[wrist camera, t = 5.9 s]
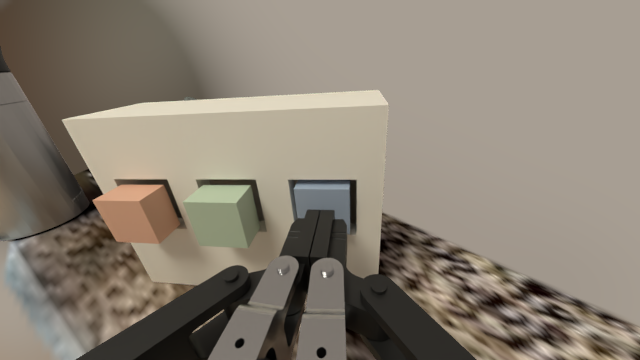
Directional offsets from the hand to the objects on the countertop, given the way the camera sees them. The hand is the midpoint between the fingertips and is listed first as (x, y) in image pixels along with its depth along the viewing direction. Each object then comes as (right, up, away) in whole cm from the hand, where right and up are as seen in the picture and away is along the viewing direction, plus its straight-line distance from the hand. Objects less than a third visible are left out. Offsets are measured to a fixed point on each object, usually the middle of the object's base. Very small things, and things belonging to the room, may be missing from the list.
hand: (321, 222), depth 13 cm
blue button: (0, 0, +3) cm, 3 cm away
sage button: (-6, -1, +2) cm, 6 cm away
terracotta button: (-12, -1, +3) cm, 12 cm away
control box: (-5, -5, +8) cm, 11 cm away
